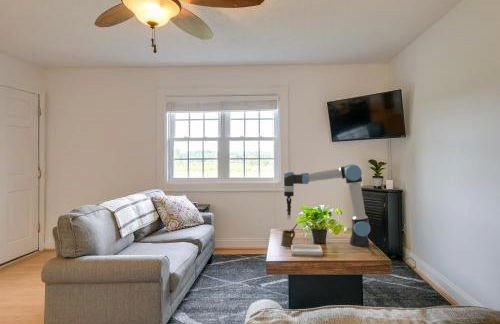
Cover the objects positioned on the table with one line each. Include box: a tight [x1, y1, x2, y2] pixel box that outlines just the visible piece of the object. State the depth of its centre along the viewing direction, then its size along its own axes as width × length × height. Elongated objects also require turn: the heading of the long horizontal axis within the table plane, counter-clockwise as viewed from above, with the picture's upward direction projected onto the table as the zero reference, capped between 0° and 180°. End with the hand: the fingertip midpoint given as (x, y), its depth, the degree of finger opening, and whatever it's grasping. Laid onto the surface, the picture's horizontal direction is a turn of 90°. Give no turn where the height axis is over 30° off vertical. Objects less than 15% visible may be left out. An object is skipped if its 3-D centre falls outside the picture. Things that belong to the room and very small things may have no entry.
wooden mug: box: [280, 222, 298, 247], centre depth 250 cm, size 9×14×18 cm, turn 71°
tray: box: [290, 244, 324, 257], centre depth 230 cm, size 22×16×3 cm
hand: (288, 217), depth 250 cm, fingers open, 13 cm apart
